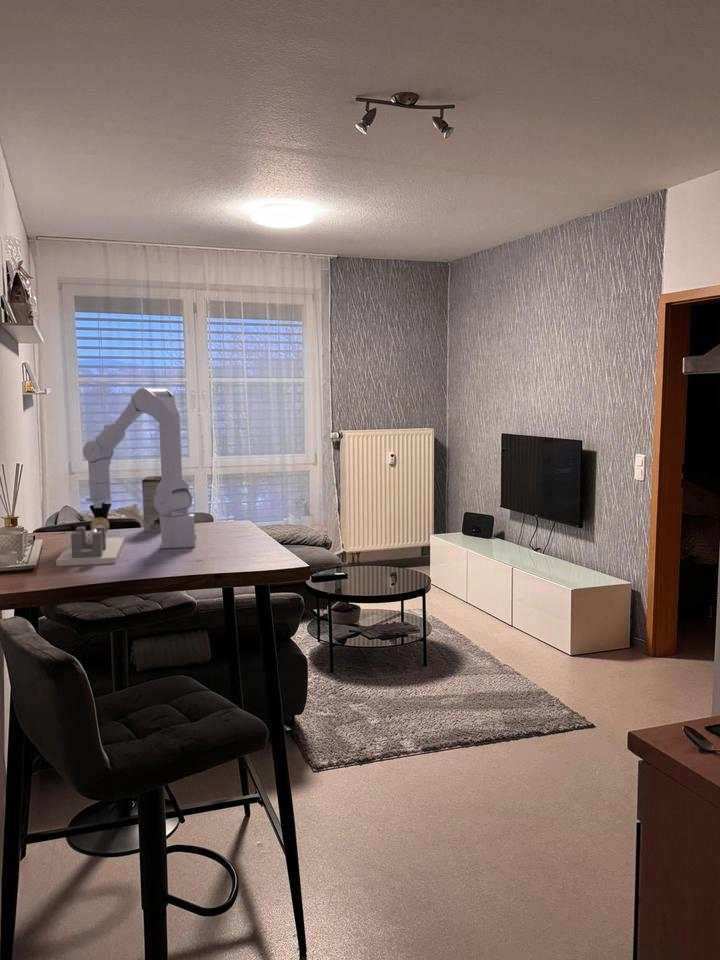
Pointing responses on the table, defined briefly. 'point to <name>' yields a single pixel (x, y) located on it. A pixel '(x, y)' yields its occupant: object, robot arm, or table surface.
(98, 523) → the shaft
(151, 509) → the coffee box
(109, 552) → the shaft housing
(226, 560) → the table surface
